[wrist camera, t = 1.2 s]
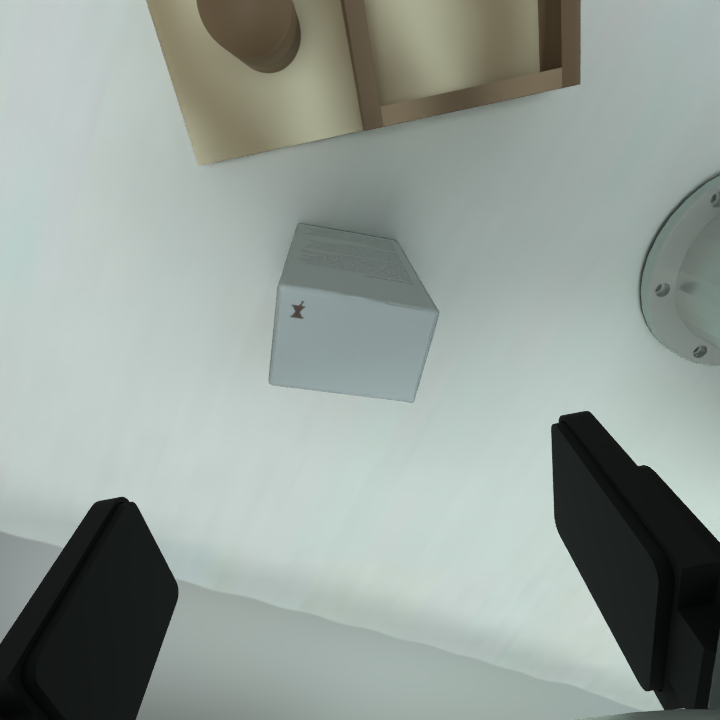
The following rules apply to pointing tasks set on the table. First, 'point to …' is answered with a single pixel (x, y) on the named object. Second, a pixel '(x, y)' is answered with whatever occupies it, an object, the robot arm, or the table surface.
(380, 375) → the skincare box
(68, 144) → the table surface
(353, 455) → the table surface
